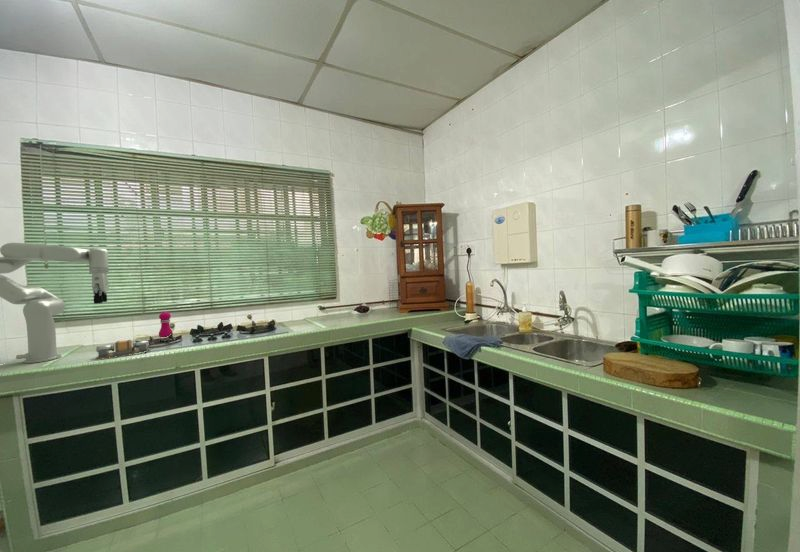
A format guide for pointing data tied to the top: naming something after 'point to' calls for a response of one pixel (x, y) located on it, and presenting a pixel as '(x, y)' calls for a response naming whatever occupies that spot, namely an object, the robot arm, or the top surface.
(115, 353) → the shaft bench
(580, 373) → the top surface
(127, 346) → the block
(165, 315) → the pepper mill
